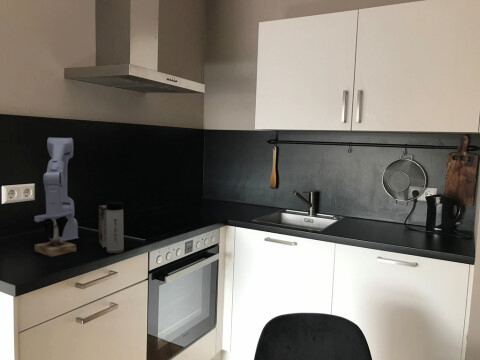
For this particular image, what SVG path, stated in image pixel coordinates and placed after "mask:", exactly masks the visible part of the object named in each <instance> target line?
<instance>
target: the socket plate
mask: <svg viewBox="0 0 480 360" xmlns="http://www.w3.org/2000/svg"><path fill="white" fill-rule="evenodd" d="M34 252H36V253H39V254H42V255H45V256H48V257H51V258H52V257H56V256H61V255H64V254H69V253H75V252H77V244H75V243H71V242H68V241H61V240H60V246H56V247H51V241H48V242H42V243H37V244H34Z"/></svg>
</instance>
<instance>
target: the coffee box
mask: <svg viewBox="0 0 480 360" xmlns="http://www.w3.org/2000/svg"><path fill="white" fill-rule="evenodd" d="M106 208H107V207H106V204H100V205H98V238H99V239H98V241H99V242H98V243H99V244H100V245H101V247H102V248H104V247H105V248H107V228H106Z"/></svg>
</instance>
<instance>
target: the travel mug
mask: <svg viewBox="0 0 480 360" xmlns="http://www.w3.org/2000/svg"><path fill="white" fill-rule="evenodd" d="M105 205H106V207H107V208H106V228H107V247H106V252H107V253H108V254H112V253H115V254H121V253H123V252H124V249H125V247H124V245H125V244H124V234H125V233H124V203H123V202H122V201H121V200H111V199H108V200H105Z"/></svg>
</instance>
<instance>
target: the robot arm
mask: <svg viewBox="0 0 480 360" xmlns="http://www.w3.org/2000/svg"><path fill="white" fill-rule="evenodd" d="M46 143H47V144H46V147H47V152H48V154H49V156H50V158H51V159H50V160H49V161H48V163H47V168H46V172H44V174H43V179H42V180H43V184H44V185H43V186H44V192H45V209H46V210H45V214H39V215H35V216H34V222H36V223H40V222H41V224H42V226H43V227H44V229H45V232H46V235H47V238H48V240H50V241H51V239H53V225H59V233H60V240H61V241H65V242H67V241H70V240H75V239H79V238H80V237H79V236H78V235H79V229H78V225H79V224H78V220H77V219H76V218H75V201H74V200H73V199H72V198H71V197H69V196H68V163H69V160H71V158H73V157H74V139H73V138H72V137H50V136H49V137H48V138H47V142H46Z"/></svg>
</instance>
